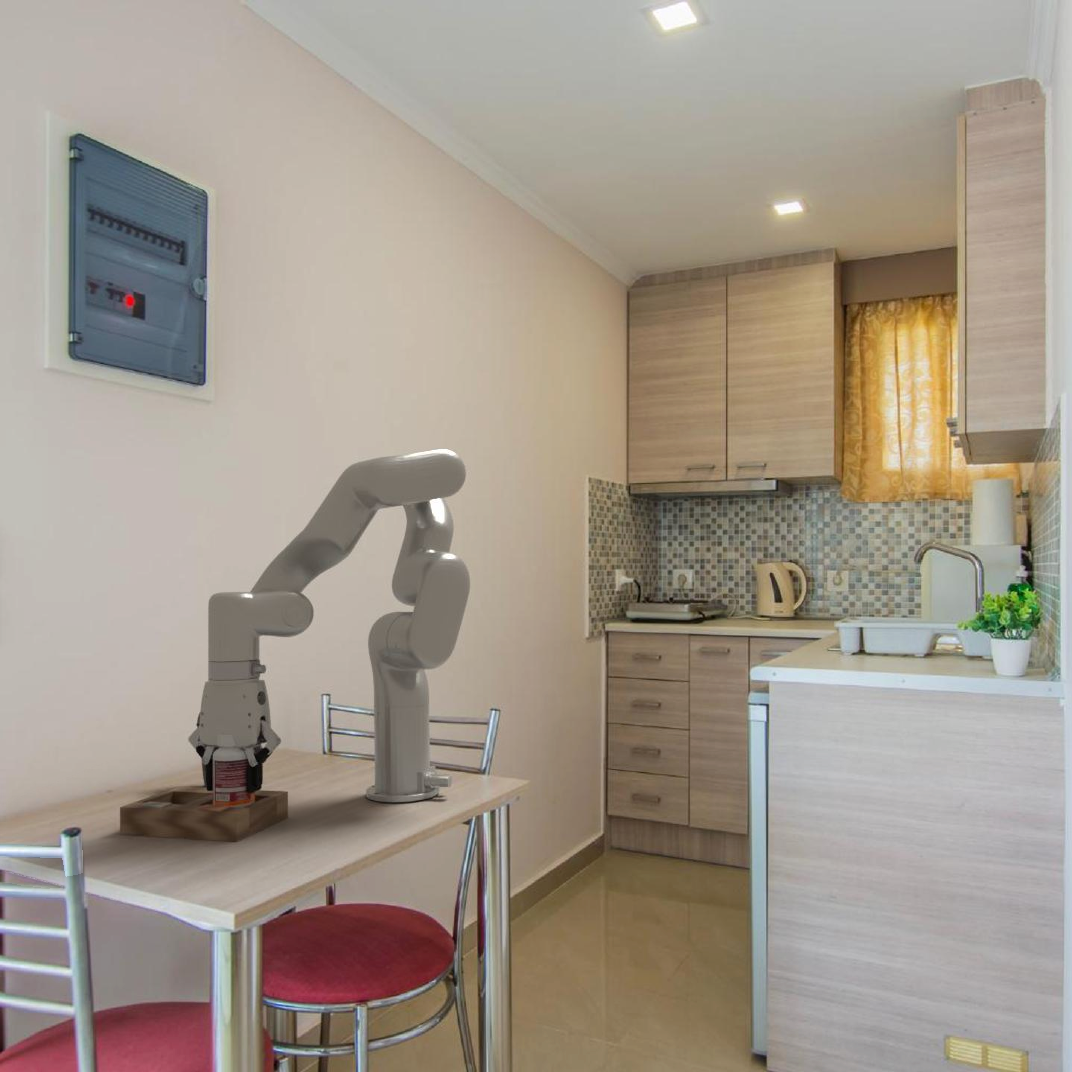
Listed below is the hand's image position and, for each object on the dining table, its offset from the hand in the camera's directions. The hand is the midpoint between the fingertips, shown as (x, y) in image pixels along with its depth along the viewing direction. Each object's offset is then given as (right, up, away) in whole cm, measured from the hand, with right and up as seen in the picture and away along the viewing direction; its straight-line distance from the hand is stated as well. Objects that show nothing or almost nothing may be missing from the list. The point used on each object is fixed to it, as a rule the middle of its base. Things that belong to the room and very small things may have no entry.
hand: (234, 789), depth 141 cm
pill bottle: (0, -3, 0) cm, 3 cm away
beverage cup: (-12, -8, +29) cm, 32 cm away
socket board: (-5, -6, +1) cm, 8 cm away
